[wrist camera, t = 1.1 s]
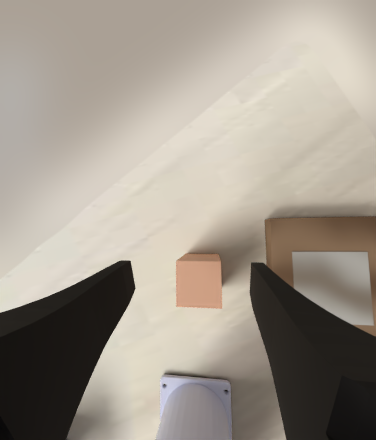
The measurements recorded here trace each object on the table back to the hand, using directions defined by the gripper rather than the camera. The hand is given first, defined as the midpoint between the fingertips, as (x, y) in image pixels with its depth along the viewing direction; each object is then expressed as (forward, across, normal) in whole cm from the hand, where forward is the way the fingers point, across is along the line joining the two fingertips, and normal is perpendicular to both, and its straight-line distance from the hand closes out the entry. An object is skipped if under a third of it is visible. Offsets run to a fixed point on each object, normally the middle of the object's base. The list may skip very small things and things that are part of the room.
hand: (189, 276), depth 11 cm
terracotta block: (+10, 0, +6) cm, 12 cm away
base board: (+10, -13, +7) cm, 18 cm away
